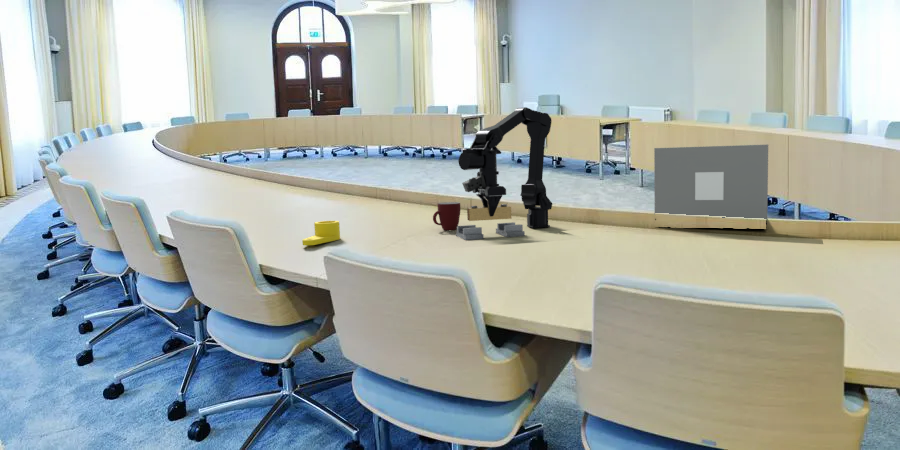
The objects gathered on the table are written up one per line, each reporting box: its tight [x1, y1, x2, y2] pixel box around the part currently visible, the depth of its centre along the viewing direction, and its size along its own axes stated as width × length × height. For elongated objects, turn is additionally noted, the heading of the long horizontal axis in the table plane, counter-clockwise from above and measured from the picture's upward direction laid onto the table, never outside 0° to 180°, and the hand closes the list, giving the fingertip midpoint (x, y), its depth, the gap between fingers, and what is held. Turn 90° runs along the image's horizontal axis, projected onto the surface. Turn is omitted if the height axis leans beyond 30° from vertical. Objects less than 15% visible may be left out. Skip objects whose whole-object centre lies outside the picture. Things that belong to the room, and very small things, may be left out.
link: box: [466, 203, 512, 222], centre depth 228 cm, size 14×4×5 cm, turn 99°
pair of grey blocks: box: [455, 221, 526, 241], centre depth 229 cm, size 20×12×4 cm, turn 104°
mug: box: [432, 201, 461, 231], centre depth 244 cm, size 11×8×10 cm
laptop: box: [653, 144, 769, 220], centre depth 238 cm, size 35×26×27 cm
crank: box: [301, 220, 341, 246], centre depth 232 cm, size 18×8×6 cm, turn 160°
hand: (489, 215), depth 228 cm, fingers closed on link, 4 cm apart
